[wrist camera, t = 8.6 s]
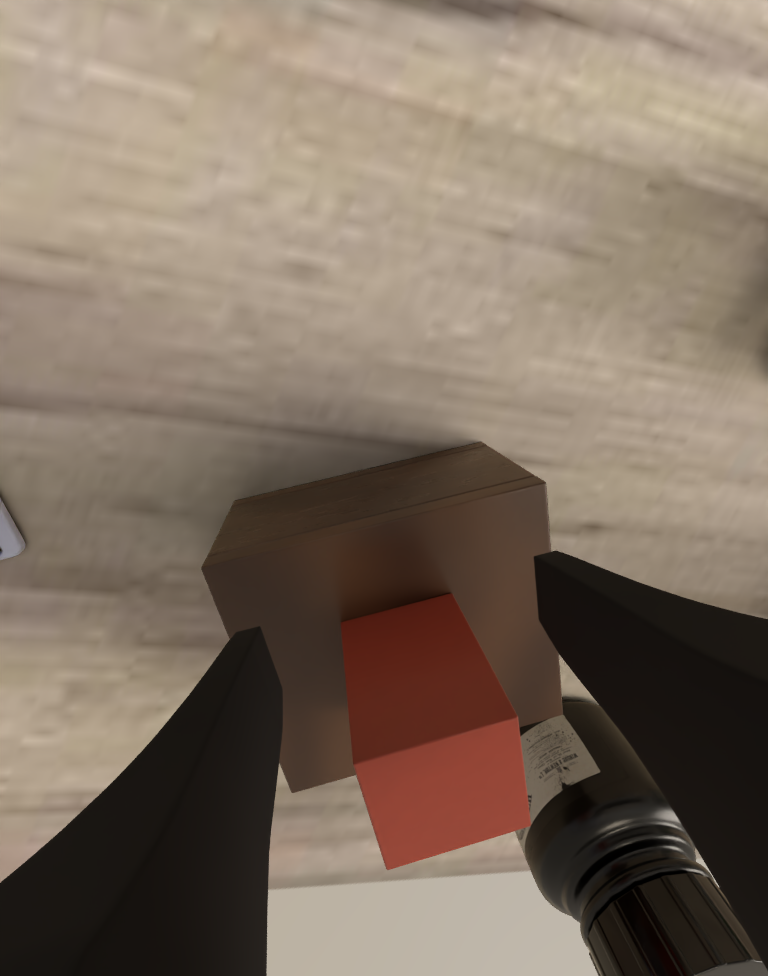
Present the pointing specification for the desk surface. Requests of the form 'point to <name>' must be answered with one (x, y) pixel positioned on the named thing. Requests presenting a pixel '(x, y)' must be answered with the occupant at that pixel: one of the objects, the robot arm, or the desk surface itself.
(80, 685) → the desk surface
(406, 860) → the block
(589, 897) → the ink bottle
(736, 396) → the desk surface
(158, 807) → the robot arm
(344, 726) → the brown open wooden box
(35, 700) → the desk surface
